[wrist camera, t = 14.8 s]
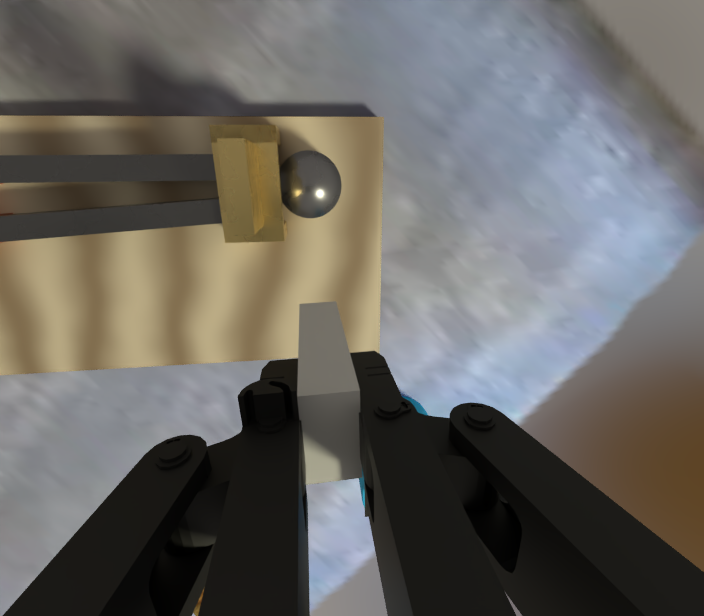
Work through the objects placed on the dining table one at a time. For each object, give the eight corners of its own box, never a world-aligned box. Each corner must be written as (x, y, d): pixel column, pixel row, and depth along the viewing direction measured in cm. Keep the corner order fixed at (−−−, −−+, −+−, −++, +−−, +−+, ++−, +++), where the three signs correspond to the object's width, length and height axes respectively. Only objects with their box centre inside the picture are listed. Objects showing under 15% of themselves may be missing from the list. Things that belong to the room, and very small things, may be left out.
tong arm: (-51, 244, 25) (-88, 251, 23) (-64, 218, 25) (-103, 223, 22) (273, 216, 27) (269, 220, 25) (269, 192, 26) (265, 193, 24)
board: (-3, 366, 30) (-18, 376, 29) (-106, 118, 24) (-133, 114, 22) (376, 345, 33) (379, 353, 32) (380, 119, 27) (383, 117, 25)
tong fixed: (-62, 222, 25) (-100, 227, 23) (-90, 154, 23) (-135, 152, 21) (339, 214, 27) (342, 217, 25) (338, 152, 26) (341, 149, 24)
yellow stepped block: (234, 235, 27) (209, 255, 20) (221, 130, 24) (186, 114, 18) (287, 234, 27) (279, 253, 21) (279, 130, 25) (267, 114, 18)
